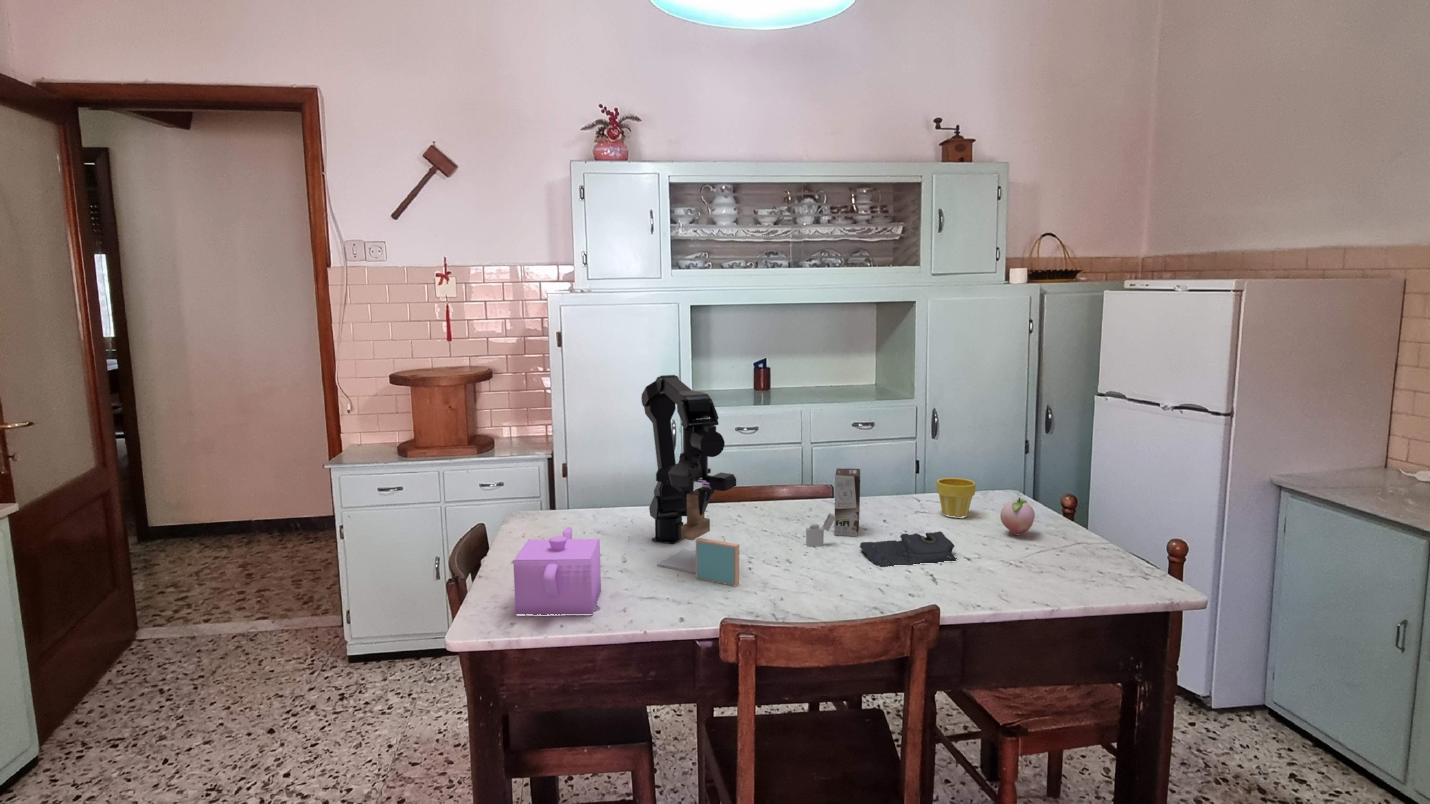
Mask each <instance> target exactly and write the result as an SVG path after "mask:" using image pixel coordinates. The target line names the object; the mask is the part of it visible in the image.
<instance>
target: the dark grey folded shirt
mask: <svg viewBox="0 0 1430 804" xmlns="http://www.w3.org/2000/svg"><path fill="white" fill-rule="evenodd" d="M899 537H900V539H901V540H882V541H881V540H880V541H862V542H860V543H859V545H860V546H859V548H860V549H861V550H862V552H863V553H864V554H865V555H866V556H867V558H868V559H869V560H870V561H871V562H872V563H873V564H874V565H876V566H878V565H879V567H880V568H890V566H892V567H895V566H894V565H907V566H914V565H913V564H920V563H935V564H939V563H938V562H944V561H956V559H957V558H958V557H956V556H955V557H956V558H955V557H954V555H953V554H952V552H953V549H954V548H955V545H954V543H953V542H952V541H951V540H950V539H949V538H947V537H946V536H945V534H944V533H943V532H942V531H935V532H930V531H929V532H925V536H923V535H921V534H919V533H917V532H916V533H913V534H908V533H902V534H900V535H899ZM957 560H958V559H957ZM956 562H957V561H956ZM888 566H889V567H888Z"/></svg>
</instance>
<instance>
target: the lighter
mask: <svg viewBox="0 0 1430 804" xmlns="http://www.w3.org/2000/svg"><path fill="white" fill-rule="evenodd" d="M835 517H836V516H835V514H833V513H831V512H829V513H828V515H827V516H826V519H825V521H824V523H823V525H822V527H821V526H820V525H819V524H818V523H816V524H815V523H813V524H811V525H809V527H806V529H805V545H806V547H824V540H825V539H824V537H825V536H824V531H827V532H829V531H830V529H831V527H832V525H833V523H834V522H835Z"/></svg>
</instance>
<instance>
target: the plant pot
mask: <svg viewBox="0 0 1430 804" xmlns="http://www.w3.org/2000/svg"><path fill="white" fill-rule="evenodd" d="M936 493H937V494H938V496H939V501H940V507H941V512H942V515H943V514H945V515H949V516H955V517H962V516H966V515H967V516H968V514H969V510H970V507H971V503H972V499H973V496H975V494H976V481H975V482H974V481H973V480H971V479H967V478H959V477H958V478H957V477H945V478H939V479H937V481H936Z"/></svg>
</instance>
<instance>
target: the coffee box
mask: <svg viewBox="0 0 1430 804" xmlns="http://www.w3.org/2000/svg"><path fill="white" fill-rule="evenodd" d="M834 477H835V481H834V482H835V483H834V515H835V516H836V517H835V519H834V521H833V523H834V527H833V528H834V530H833V532H834V533H833V534H834V536H845V537H854V538H855V537H856V536H857V537H858V536H859V529H860V511H861V510H860V507H861V469H860V468H847V467H846V468H836V469H835V476H834Z"/></svg>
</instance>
